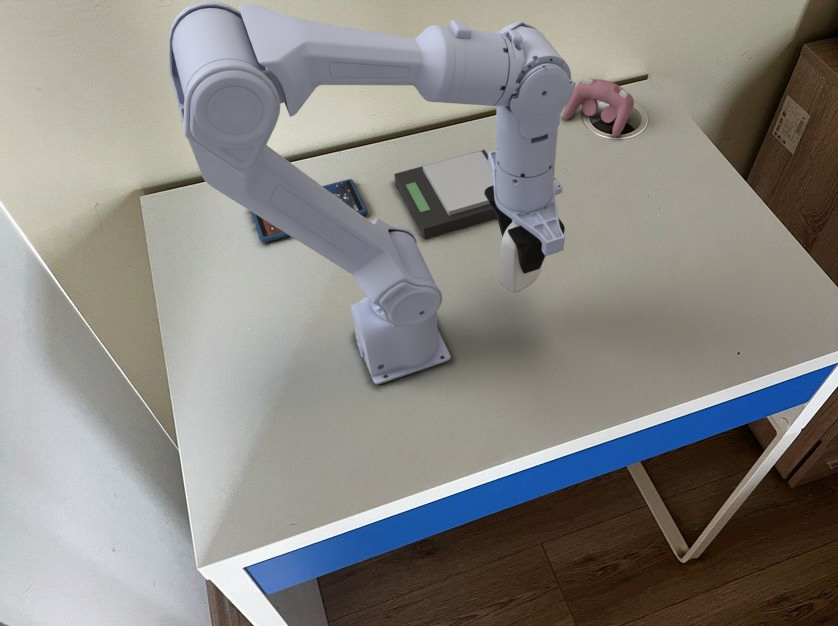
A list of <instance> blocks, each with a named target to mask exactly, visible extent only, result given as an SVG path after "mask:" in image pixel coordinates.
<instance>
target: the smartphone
mask: <svg viewBox="0 0 838 626" xmlns="http://www.w3.org/2000/svg"><path fill="white" fill-rule="evenodd" d="M322 186H323V187H324V188H325V189H327V190H328V191H329V192H331V193H332V194H333V195H335V196H336V197H337V198H339V199H340V200H342V201H343V202H344V203H346V204H347V205H348V206H350V207H351V208H352V209H354V210H355V211H356V212H358V213H359V214H360V215H362V216H366V215H367V214H368V209H367V207H366V204H365V202H364V200H363V198H362V196H361V194H360V192H359V190H358V187H357V186H356V183H355V181H354V180H353V179H352V178H348V179H344V180H341V181H336V182H332V183H329V184H326V185H322ZM250 214H251V217H252V221H253V224H254V226H255V229H256V232H257V235H258V238H259V241H260V242H261V243H262V244H263V243H268V242H272V241H276V240H279V239H283V238H287V237H291V236H290V235H288V234H287V233H285V232H283V231H282V230H280V229H279V228H277V227H275V226H274V225H272V224H271V223H269V222H267V221H266V220H264V219H263V218H261V217H259V216H258V215H256V214H255V213H253V212H251V211H250Z"/></svg>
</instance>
